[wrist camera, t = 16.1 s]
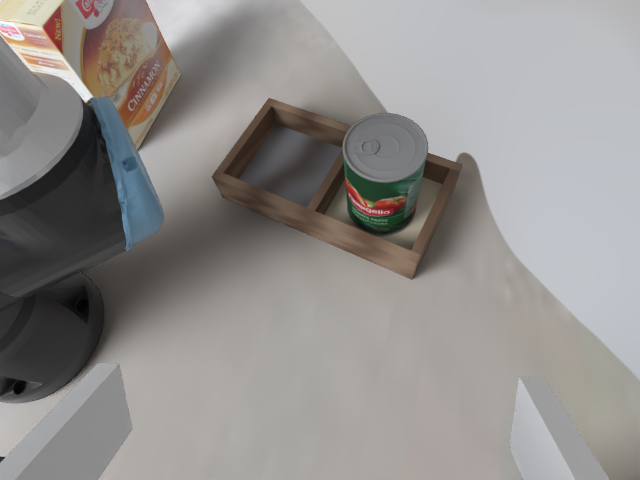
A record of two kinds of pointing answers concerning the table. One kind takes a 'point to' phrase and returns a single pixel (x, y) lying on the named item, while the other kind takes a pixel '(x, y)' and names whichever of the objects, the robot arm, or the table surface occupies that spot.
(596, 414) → the table surface
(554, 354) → the table surface
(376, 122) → the canned tomato
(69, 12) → the coffeecake box
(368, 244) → the slot caddy
